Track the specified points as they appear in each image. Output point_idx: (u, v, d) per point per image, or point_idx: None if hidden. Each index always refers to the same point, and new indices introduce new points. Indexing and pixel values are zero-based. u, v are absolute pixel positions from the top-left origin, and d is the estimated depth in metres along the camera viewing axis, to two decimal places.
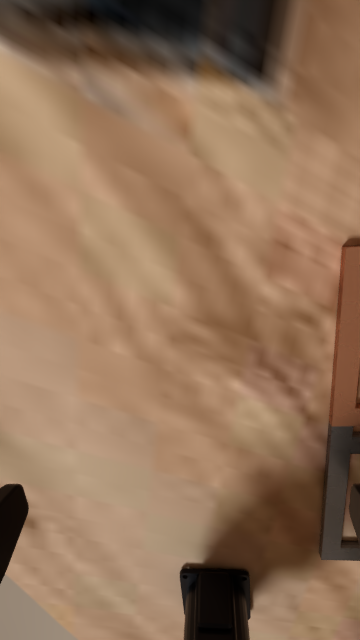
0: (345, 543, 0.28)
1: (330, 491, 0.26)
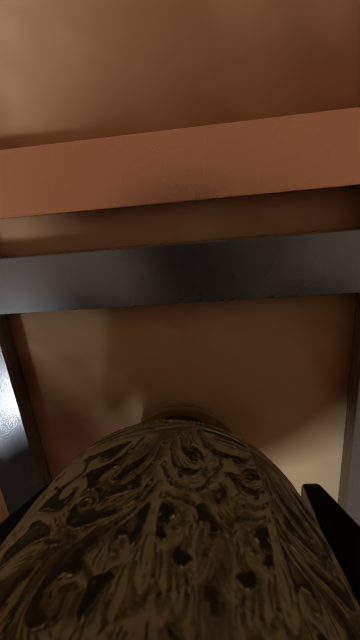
0: None
1: None
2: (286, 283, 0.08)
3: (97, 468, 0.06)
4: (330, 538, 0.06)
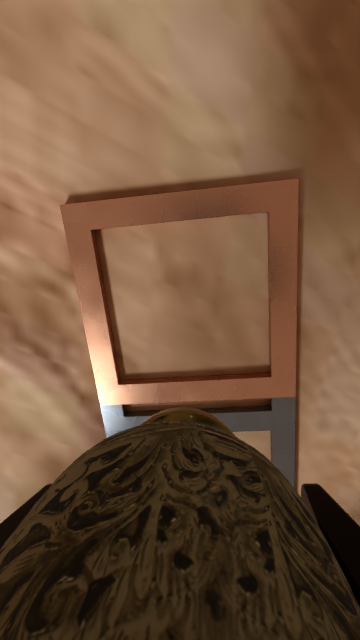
0: None
1: None
2: (242, 427, 0.22)
3: (97, 471, 0.06)
4: (330, 538, 0.06)
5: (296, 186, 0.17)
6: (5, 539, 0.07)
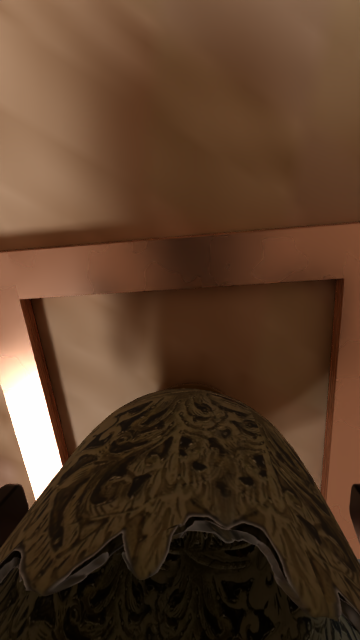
0: None
1: None
2: None
3: (127, 419, 0.07)
4: None
5: None
6: None
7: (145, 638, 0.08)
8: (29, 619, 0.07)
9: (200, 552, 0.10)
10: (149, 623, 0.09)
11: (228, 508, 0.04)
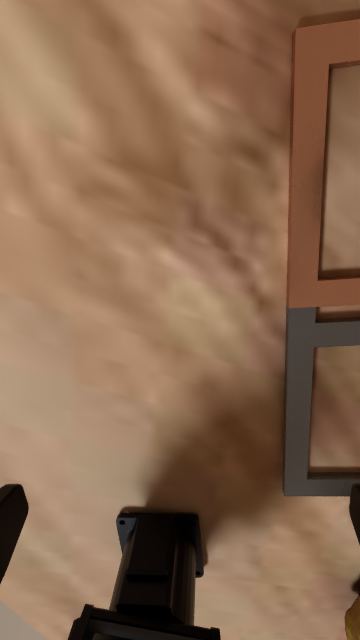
0: (313, 475, 0.23)
1: (291, 402, 0.20)
2: None
3: None
4: None
5: None
6: None
7: None
8: None
9: None
10: None
11: None
